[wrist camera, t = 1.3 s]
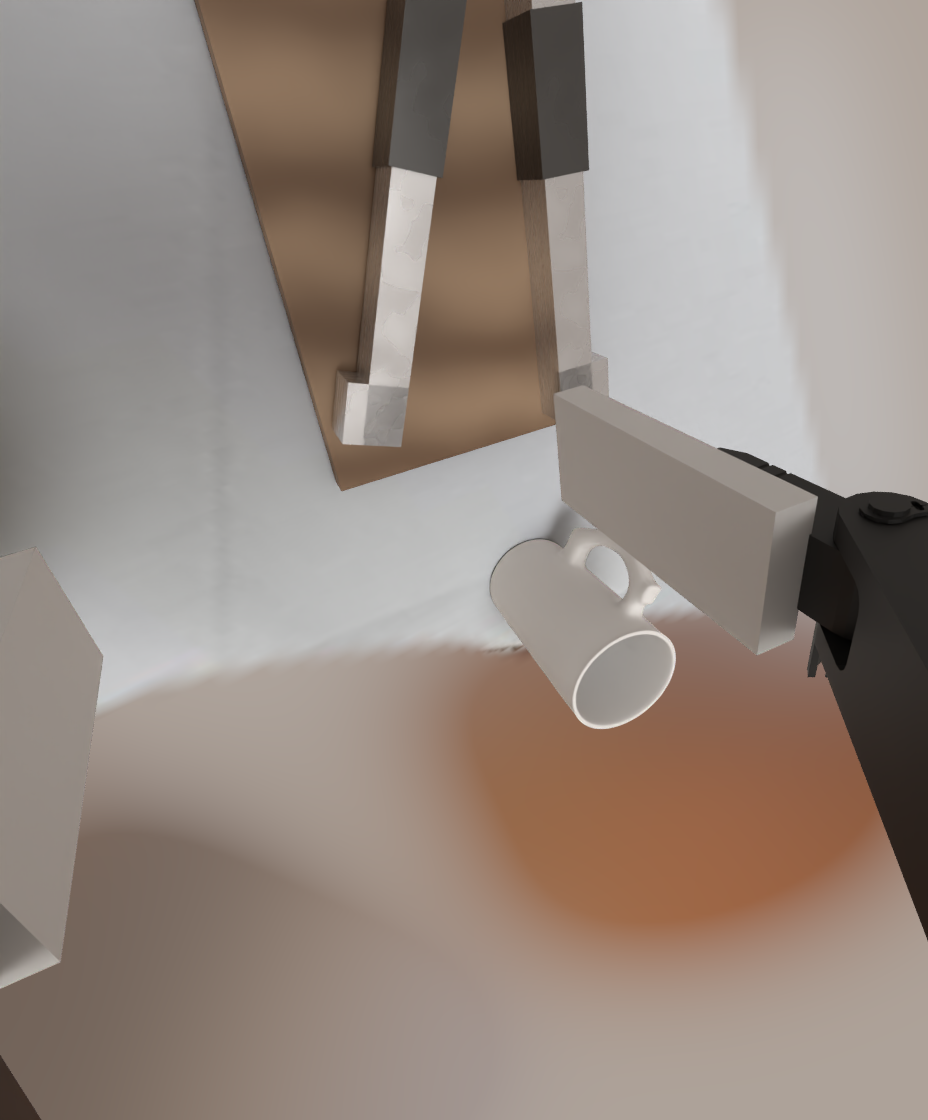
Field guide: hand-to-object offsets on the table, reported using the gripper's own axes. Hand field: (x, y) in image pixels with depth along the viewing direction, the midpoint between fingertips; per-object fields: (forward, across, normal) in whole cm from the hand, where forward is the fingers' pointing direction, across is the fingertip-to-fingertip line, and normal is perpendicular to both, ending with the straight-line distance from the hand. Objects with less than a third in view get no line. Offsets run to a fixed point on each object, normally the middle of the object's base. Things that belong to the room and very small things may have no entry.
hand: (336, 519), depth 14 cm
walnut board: (+22, +10, +5) cm, 25 cm away
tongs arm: (+20, +10, +6) cm, 23 cm away
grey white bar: (+20, +15, +5) cm, 26 cm away
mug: (+22, +14, -19) cm, 32 cm away
